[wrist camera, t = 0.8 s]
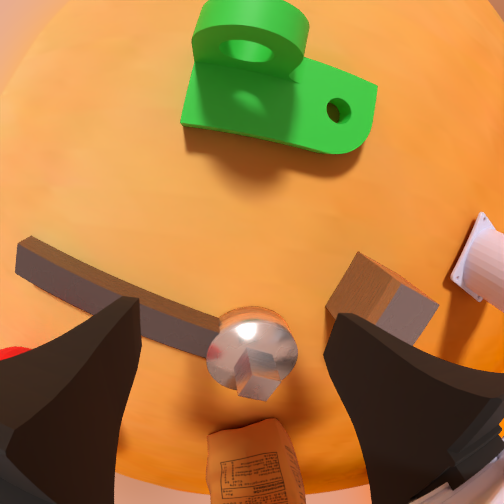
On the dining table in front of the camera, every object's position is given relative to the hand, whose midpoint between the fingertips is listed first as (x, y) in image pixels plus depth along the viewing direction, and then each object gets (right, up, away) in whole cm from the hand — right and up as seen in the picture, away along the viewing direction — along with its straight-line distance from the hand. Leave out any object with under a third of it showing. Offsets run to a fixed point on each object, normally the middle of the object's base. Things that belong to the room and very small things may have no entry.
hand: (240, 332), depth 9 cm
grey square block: (+10, 0, +13) cm, 16 cm away
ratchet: (-7, -1, +10) cm, 13 cm away
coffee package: (0, -21, +19) cm, 28 cm away
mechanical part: (+2, +13, +7) cm, 15 cm away
